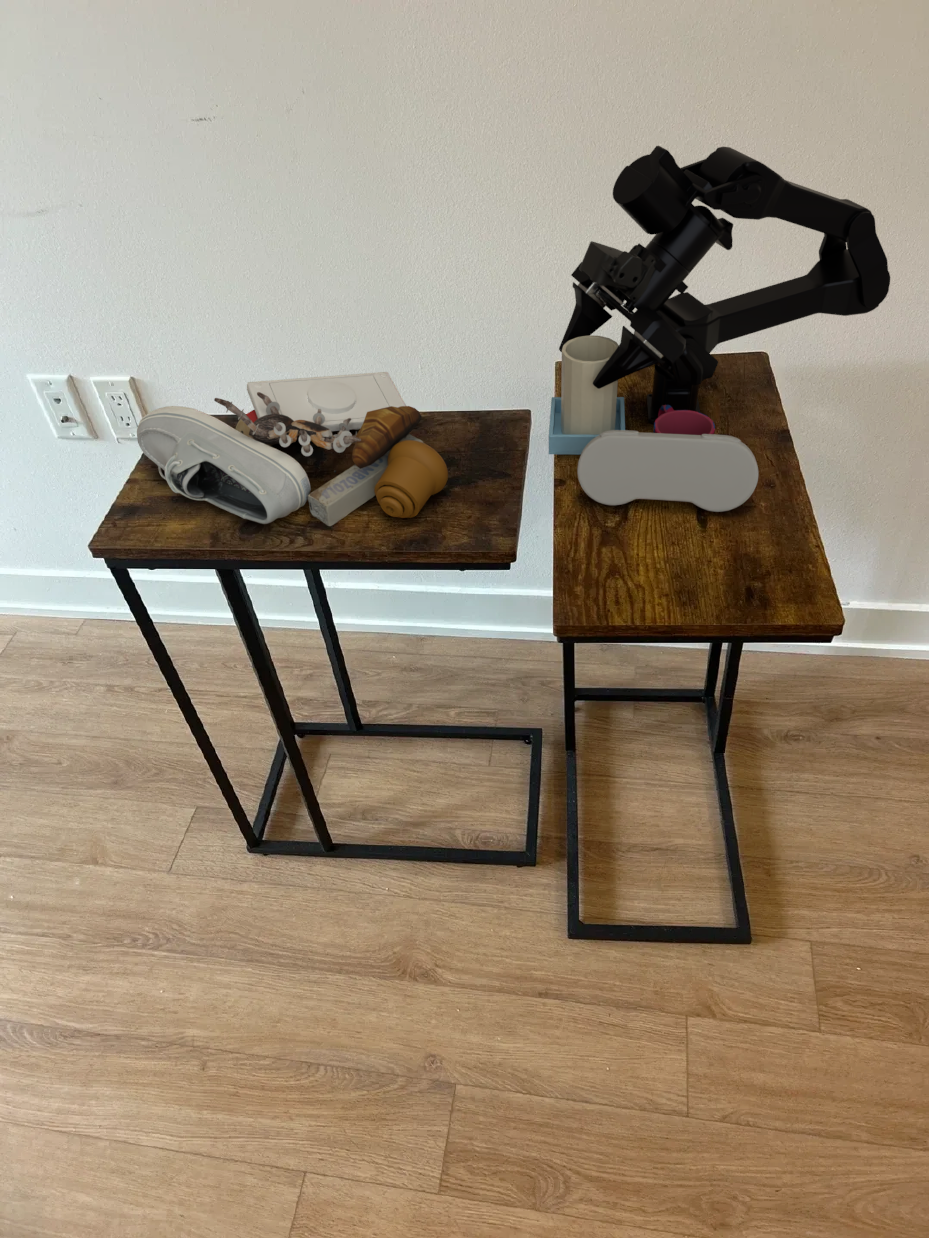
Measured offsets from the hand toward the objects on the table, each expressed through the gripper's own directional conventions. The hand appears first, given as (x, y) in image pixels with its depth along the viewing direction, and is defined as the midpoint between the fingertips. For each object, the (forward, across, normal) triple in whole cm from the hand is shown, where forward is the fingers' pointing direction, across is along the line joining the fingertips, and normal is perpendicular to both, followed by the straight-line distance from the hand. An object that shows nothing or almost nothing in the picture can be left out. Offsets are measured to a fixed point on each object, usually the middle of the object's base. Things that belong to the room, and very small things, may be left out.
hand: (578, 368), depth 105 cm
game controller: (+5, +18, +8) cm, 20 cm away
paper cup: (+5, 0, +7) cm, 9 cm away
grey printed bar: (+26, -3, -15) cm, 30 cm away
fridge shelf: (+6, 0, +8) cm, 10 cm away
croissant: (+20, 0, -13) cm, 24 cm away
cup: (+1, +11, +12) cm, 17 cm away
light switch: (+29, -17, -23) cm, 41 cm away
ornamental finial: (+24, +2, -13) cm, 27 cm away
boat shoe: (+33, -10, -25) cm, 43 cm away
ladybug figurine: (+32, -18, -18) cm, 41 cm away
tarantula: (+23, -7, -22) cm, 33 cm away
